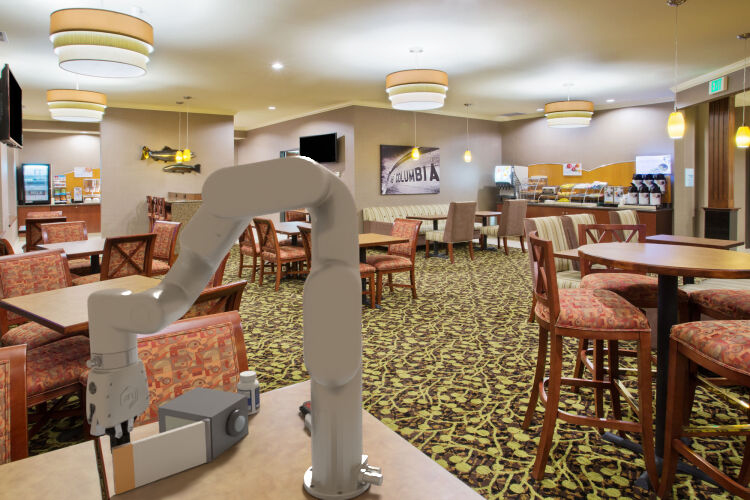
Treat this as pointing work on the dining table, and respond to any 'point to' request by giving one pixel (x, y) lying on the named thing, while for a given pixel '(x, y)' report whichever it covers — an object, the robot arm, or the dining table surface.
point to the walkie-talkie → (306, 413)
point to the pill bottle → (250, 390)
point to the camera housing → (208, 415)
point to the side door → (160, 455)
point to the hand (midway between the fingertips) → (121, 454)
